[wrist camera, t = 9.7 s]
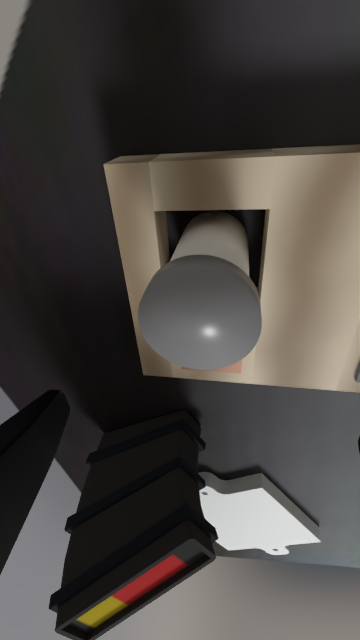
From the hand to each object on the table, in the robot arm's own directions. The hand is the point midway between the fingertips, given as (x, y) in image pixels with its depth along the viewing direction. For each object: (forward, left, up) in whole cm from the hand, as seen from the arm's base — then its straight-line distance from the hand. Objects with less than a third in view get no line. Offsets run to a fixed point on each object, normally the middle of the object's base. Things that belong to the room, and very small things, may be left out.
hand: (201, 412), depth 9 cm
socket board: (-5, +1, -12) cm, 13 cm away
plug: (+1, -1, -12) cm, 12 cm away
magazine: (+6, +18, -12) cm, 23 cm away
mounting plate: (-3, +33, -13) cm, 36 cm away
